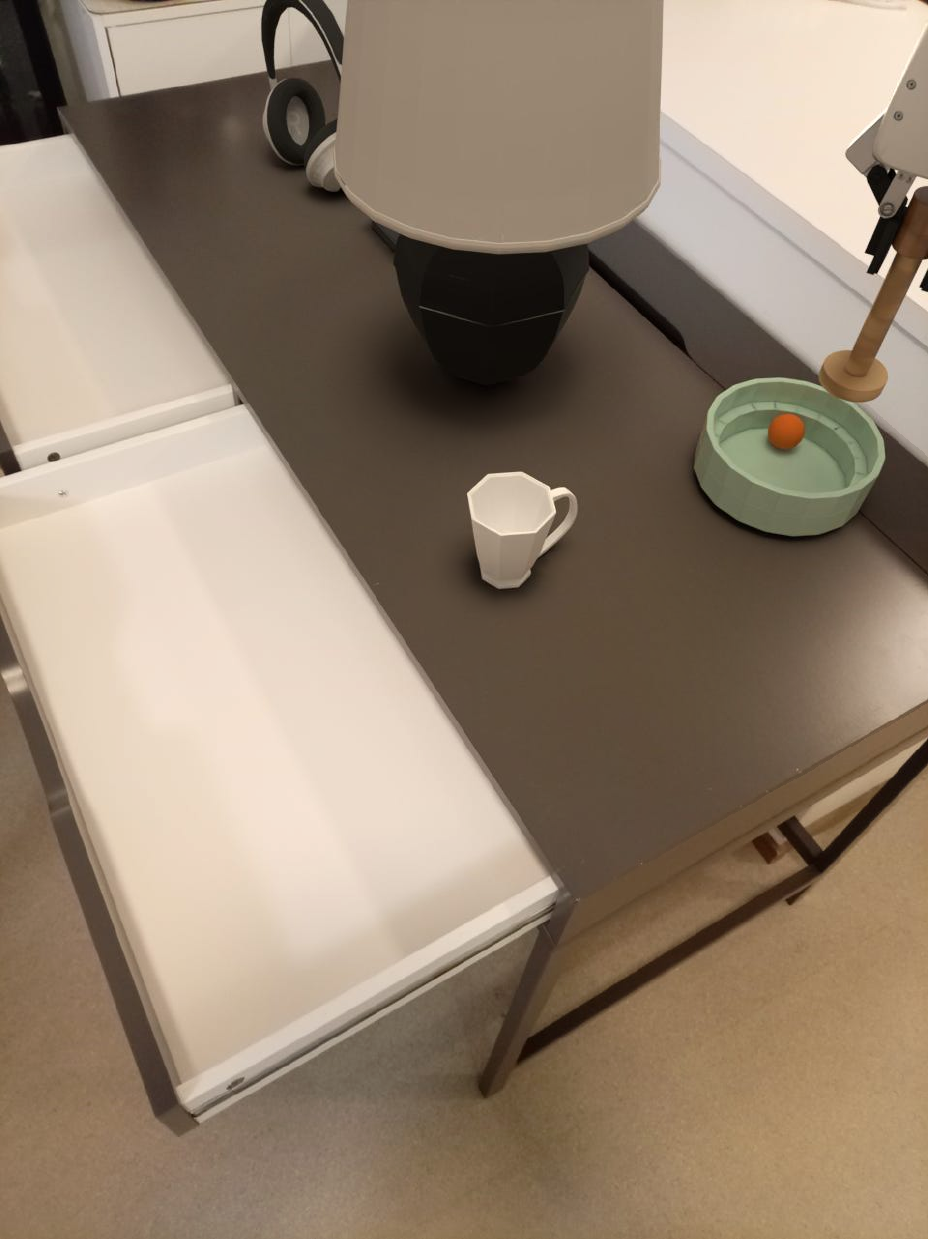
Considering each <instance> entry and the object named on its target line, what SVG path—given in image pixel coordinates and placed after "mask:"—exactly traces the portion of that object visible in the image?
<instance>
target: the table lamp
mask: <svg viewBox="0 0 928 1239" xmlns="http://www.w3.org/2000/svg"><path fill="white" fill-rule="evenodd" d="M664 6H665V4H664V0H346V11H345V12H346V13H345V24H344V33H343V34H344V46H343V59H342V73H341V84H340V88H339V100H338V101H339V102H338V113H337V119H338V121H337V131H336V141H335V146H334V148H333V162H334V174H335V177H336V179H337V181H338V182H339V184H340V186H341V187H340V188H341V189H342V191H343V192H344V194H345V196H346V197H347V199H348V200H349V201H350V203H352V204H353V205H354V206H355V207H356V208H358V209H359V210H360V211H361V212H362V213H364V214H365V215H366V216H367V217H369V218H370V219H371V221H372V220H374V221H375V222H377V223H379V224H381V225H383V226H385V227H388V228H390V229H392V230H394V231H396V232H398V233H400V235H399V237H398V240H397V243H396V248H395V251H394V256H393V262H392V263H393V264H392V265H393V266H394V268H395V273H396V277H397V282H398V287H399V291H400V294H401V298H402V300H403V304H404V306H405V308H406V311H407V313H408V315H409V317H410V319H411V320H412V322H413V325H414V326H415V328H416V329H417V331H418V333H419V335H420V336H421V339H422V340H423V341H424V343H425V345H426V347H427V348H428V350H429V352H430V354H431V355H432V357H433V358H434V360H435V361H436V363H437V364H438V365H439V367H441V368H442V369H443V370H444V371H445V372H447V373H449V375H452V376H454V377H457V378H459V379H463V380H466V381H470V382H473V383H476V384H480V385H483V386H489V385H494V384H499V383H503V382H507V381H511V380H515V379H518V378H520V377H523V376H526V375H527V374H529V373H531V372H532V371H534V370H535V369H537V367H539V366H540V364H542V362H543V361H544V359H545V358H546V357H547V354H548V353H549V351H550V350H551V349H552V346H553V345H554V343H555V341H556V340H557V338H558V336H559V335H560V333H561V332H562V329H563V328H564V326H565V324H566V323H567V321H568V319H569V318H570V316H571V315H572V313H573V311H574V309H575V306H576V304H577V303H578V301H579V297H580V294H581V292H582V289H583V286H584V283H585V280H586V278H587V274H588V272H589V271H590V253H589V246H588V244H589V243H591V242H594V241H596V240H599V239H601V238H604V237H606V236H609V235H610V234H613V233H616V232H618V231H620V230H622V229H624V227H626V226H628V225H629V224H630V223H631V222H633V221H634V220H635V219H636V218H638V216H640V215H641V214H643V213H644V212H645V211H646V209H648V208H649V206H650V204H651V203H652V201H653V199H654V198H655V195H656V194H657V192H658V190H659V189H660V187H661V185H662V184H661V183H662V182H661V181H662V157H661V156H660V155H661V107H662V106H661V105H662V104H661V100H662V78H663V77H662V75H663V47H664V46H663V45H664V44H663V43H664V42H663V39H664Z"/></svg>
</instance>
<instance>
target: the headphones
mask: <svg viewBox="0 0 928 1239" xmlns="http://www.w3.org/2000/svg"><path fill="white" fill-rule="evenodd" d="M289 8H292V9H294V10H296V11H297V12H299V13H301V14H302V15H303V16H304V17H305V18H306V19H307V20H308V21H309V22H310V24H312V26H313V27H314V29H315V30H316V32H317V34H318V36H319V38H320V39H321V41H322V43H323V45H324V47H325V49H326V51H327V53H328V56H329V58H330V60H331V62H332V65H333V67H334V70H335V72H336V75H337V78H338V81H339V84H340V85H341V73H342V59H343V46H344V34H345V33H344V31H343V29H342V27H341V25H340V23H339V20H338V19H337V17H336V14H335V13H334V12H333V10H332V8H331V7H330V5H329V4H328V3H327V1H326V0H265V1H264V4H263V6H262V11H261V18H260V39H261V40H260V41H261V46H262V52H263V58H264V62H265V67H266V68H265V69H266V74H267V77H268V83H269V88H270V92H269V93H268V95H267V98H266V102H265V106H264V111H263V114H262V129H263V132H264V133H263V134H264V135H265V137H266V139H267V141H268V143H269V145H270V147H271V148H272V150H273V152H274V153H275V154H276V155H277V156H278V158H280V159H281V160H282V161H283V162H285V163H287V164H290V165H292V166H303V165H304V171H305V174H306V178H307V180H308V181H309V183H310V184H311V185H312V186H314V187H317V188H323V189H324V190H326V191H328V192H331V193H333V192H334V193H336V192H339V191H340V189H341V188H342V187H341V186H340V184H339V182H338V181H337V179H336V177H335V174H334V162H333V148H334V146H335V141H336V131H337V121H338V118H335V119H333V120H331V121H330V122H328V123H326V114H325V108H324V105H323V101H322V99H321V97H320V94H319V92H318V90H317V89H316V88H315V87H314V86H313V85H312V84H311V83H310V82H309V81H307V80H306V79H303V78H300V77H299V78H298V77H289V78H284V79H282V80H281V81H279V82H278V80H277V75H276V65H275V64H276V63H275V43H276V42H275V41H276V33H277V29H278V25H279V22H280V19H281V17H282V15H283V14H284V13H285V11H286V10H288V9H289Z"/></svg>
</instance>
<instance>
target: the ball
mask: <svg viewBox="0 0 928 1239" xmlns="http://www.w3.org/2000/svg"><path fill="white" fill-rule="evenodd" d="M804 433H805V428H804V424H803V422H802V421H801V419H800V418H798V417H797V416H795V415H792V414H783V415H780V416H778V417H776V418H775V419H774V420H773V421H772V422H771V424H770V426H769V428H768V437H769V440H770V442H771V443H772V444H773V445H774V446H775V447H777V448H779V449H791V448H793V447H795V446H797V445H798V444H799V443H800V442H801V441H802V439H803V437H804Z"/></svg>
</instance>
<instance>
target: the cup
mask: <svg viewBox="0 0 928 1239" xmlns="http://www.w3.org/2000/svg"><path fill="white" fill-rule="evenodd" d="M466 496H467V501H468V509H469V513H470V521H471V527H472V535H473V540H474V547H475V552H476V556H477V560H478V563H479V568H480V574H481V579H482V580H483V581H485V582H487V583H488V584H490V585H491V586H493V587H495V588H496V589H498V590H502V589H512V588H515V589H516V588H519V587H520V586H521V585H522V584H524V582H525V581H526V580H527V579H528V578H529V577H530V576H531V573H532V572H531V569H532V568H533V566H534V565H535V563H536V561H537V560H538V559H539V557H541V556H542V555H544V554H545V553H546V552H548V550H550V549H551V548H552V547H553V546H554V545H555V544H556V543H557V542H558V541H559V540H561V538H563V537H564V536H565V535H566V534H567V532H568V531H569V530H570V529H571V527H572V526H573V524H574V523H575V521H576V518H577V516H578V510H579V509H578V508H579V505H578V500H577V497H576V495H574V494H573V492H571V490H569V489H568V488H566V487H563V486H562V487H556V488H552V489H551V487H550V486H549V485H547V484H545V483H544V482H541V481H540V480H537V479H536V478H534V477H532V476H530V475H529V474H527V473H525V472H523V471H511V472H496V473H495V472H494V473H488V474H486V475H485V476H484V477H483V478H482V479H481V480H480V481H479V482H477V483H476V485H474V486H473V487H472V488H470V490H469V491H468V492H467V493H466ZM561 498H568V501H569V504H568V505H569V506H568V512H567V514H566V515H565V518H564V520H563V521H562V522H561V523H560V524H559V525H558V526H557V528H556V529H555V530H553V531H552V533H550V535H548V534H549V532H550V530H551V527H552V524H553V522H554V520H555V517H556V514H557V510H556V507H555V502H556V501H557V500H560V499H561Z"/></svg>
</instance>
